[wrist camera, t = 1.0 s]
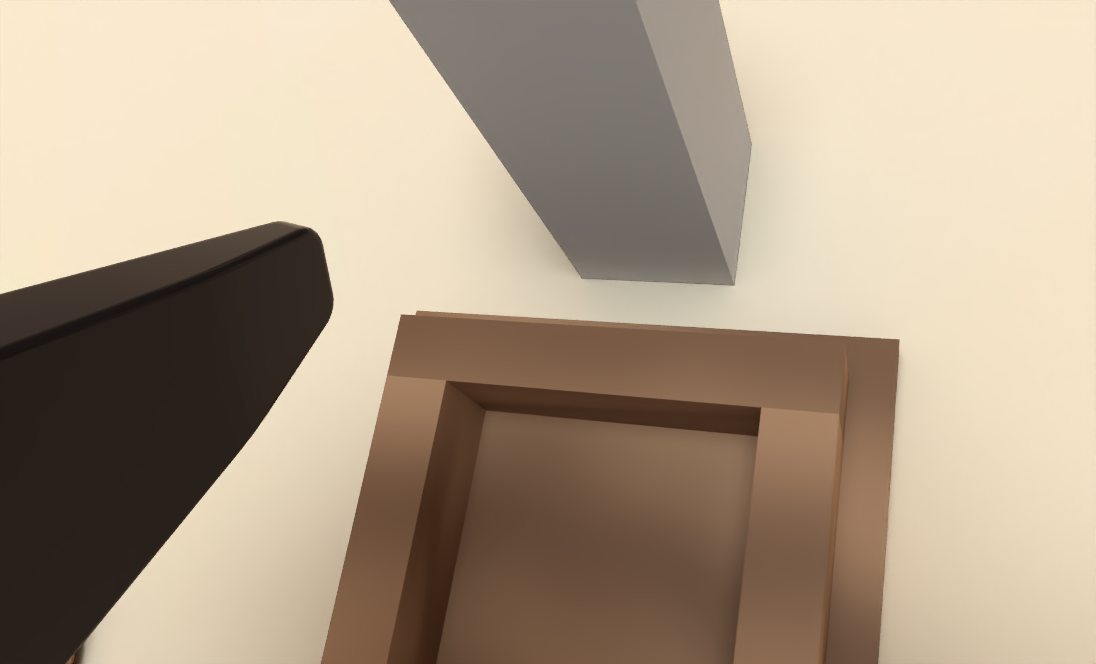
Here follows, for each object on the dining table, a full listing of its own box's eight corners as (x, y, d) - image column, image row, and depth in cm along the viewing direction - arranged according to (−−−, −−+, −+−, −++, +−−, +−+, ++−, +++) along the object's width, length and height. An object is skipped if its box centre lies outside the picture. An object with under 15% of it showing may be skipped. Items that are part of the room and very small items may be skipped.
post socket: (859, 936, 19) (855, 979, 16) (327, 800, 23) (242, 813, 20) (898, 353, 23) (901, 297, 20) (431, 323, 27) (373, 273, 24)
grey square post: (734, 285, 25) (622, -39, 14) (582, 278, 26) (373, -22, 15) (751, 144, 26) (660, -254, 15) (605, 144, 27) (426, -220, 17)
